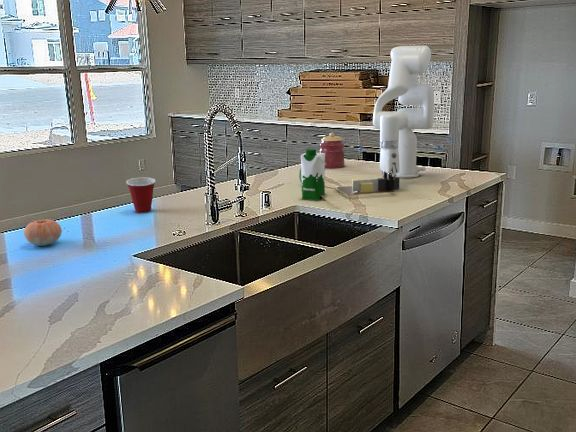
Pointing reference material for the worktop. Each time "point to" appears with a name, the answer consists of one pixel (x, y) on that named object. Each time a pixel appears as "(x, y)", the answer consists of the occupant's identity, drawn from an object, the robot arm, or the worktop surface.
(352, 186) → the butter
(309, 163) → the milk carton
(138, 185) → the plastic cup
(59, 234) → the pumpkin
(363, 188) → the butter slice
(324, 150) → the kitchen canister
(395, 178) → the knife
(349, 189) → the cutting board
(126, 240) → the worktop surface
